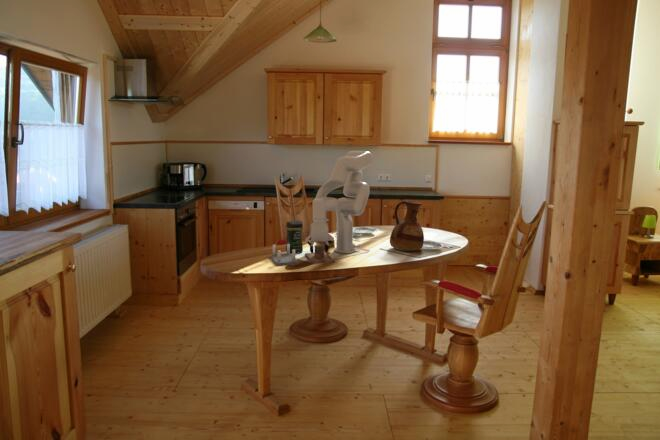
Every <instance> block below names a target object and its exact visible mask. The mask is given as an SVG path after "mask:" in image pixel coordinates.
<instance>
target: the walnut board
mask: <svg viewBox="0 0 660 440" xmlns="http://www.w3.org/2000/svg"><path fill="white" fill-rule="evenodd" d="M304 255H305V257H306V258H307V259H308V260H309V261H310V262H311V263H312V264H313V263H314V264H328V263H330V262H331V263H335V259H333V258H332V257H331V256H330V255H329V254H328V253H326V252H325V246H323V244H314V252H313V254H312V253H311V252H305V253H304Z"/></svg>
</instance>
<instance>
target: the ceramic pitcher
mask: <svg viewBox="0 0 660 440" xmlns="http://www.w3.org/2000/svg"><path fill="white" fill-rule="evenodd" d="M402 204H405V205H406V209H407V210H406V214H405V217H404V218H403V219H401V220H400V219H399V218H398V209H399V207H400V206H401V205H402ZM423 204H424V203H423V202H419V201H416V200H413V199H412V200H411V199H404V200H402V201H400V202H399V203H397V204H396V206H395V208H394V217H395V221H396V222H395V223H396V224H395V225H394V227H393V229H392V231H391V234H390V238H389V244H390V246H391V247H392V248H393V249H395V250H397V251H401V252H411V251H413V252H414V251H419V250H421V249H422V248H423V246H424V243H425V242H424V241H425V234H424V230H423V228H422V226H421V224H420V223H419V222H418V218H417V216H418V213H419V208H420V207H421V206H422V205H423Z"/></svg>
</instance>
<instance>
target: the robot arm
mask: <svg viewBox="0 0 660 440" xmlns="http://www.w3.org/2000/svg"><path fill="white" fill-rule="evenodd" d="M373 160H374V155H373V153H371V152H370V151H365V150H350V151H347V153H346V155H344V156H343V155H342V156H340V157H339V158H338V159H337V160H336V163H335V166H334V167H333V171H332V174H331V176H330V178H329V179H328V180H326V181H325V183H323V184H322V185H321V186H320V187H319V189H318V191H317V193H316V195H315V198H314V199H313V200H312V223H310V227H309V235H308V236H306V237H305V238H304V240H305V242H306V243H307V244H308V245H309V253H312V254H313V253H314V245H315V244H314V243H321V242H324V243H325V245H324V252H326V253H327V254H328V252H329V246H330V244H331V243H332V241H333V240H334V239H335V238H334V236H332V235H331V234H330V232H329V226H328V223H327V222H329V221H330V219H329V218H327V212H333V211H334V212H335V214H336V247H334V248H333V252H334V253H338V254H351V253H355V252H356V248H358V249H359V248H360V249H361V245H362V244H357V243H353V240H354V238H353V237H354V235H353V233H354V220H353V217H352V216H356V217H357V216H361V215H362V214H363V213H364V211H365V208H366V206H367V203H368V201H369V200H368V199H369V197H370V191H371V190H370V189H371V188H370V186H369V184H368V183H367V182H365V181H362V180H363V176H364V175H363V174H364V173H363V170H365V169H366V168H368V167H370V166H371V165H372V163H373ZM340 187H343V189H342V191H343V195H344V196H345V197H340V198H335V197H330V196H327V195H328V194H329V193H330V192H332V191H333V190H336V189H338V188H340Z"/></svg>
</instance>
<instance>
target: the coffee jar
mask: <svg viewBox="0 0 660 440" xmlns="http://www.w3.org/2000/svg"><path fill="white" fill-rule="evenodd" d="M303 228H304V226H303V221H300V220H291V221H290V220H289V221H286V225H285V229H286V233H287V234H286V243H285V244H286V245H285V252H286V253H287V244H290V253H291V254H292V250H293V249H295V254H300V253H302V252H303V249H304V248H303V247H304V246H303V237H302V233H303Z"/></svg>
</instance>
